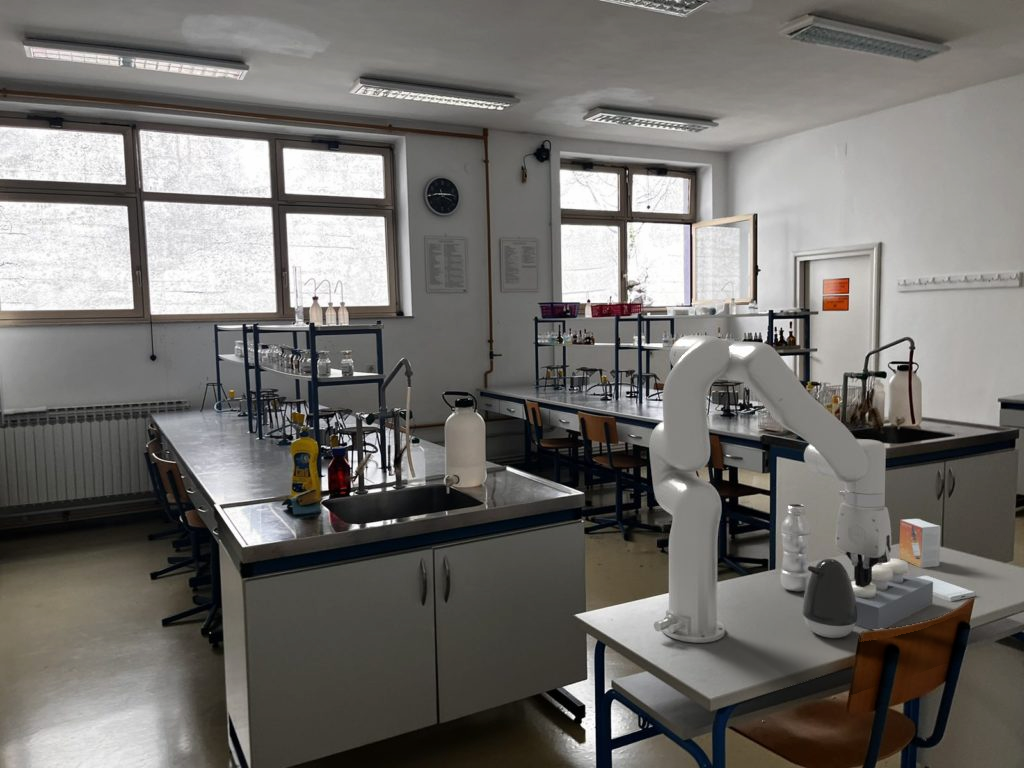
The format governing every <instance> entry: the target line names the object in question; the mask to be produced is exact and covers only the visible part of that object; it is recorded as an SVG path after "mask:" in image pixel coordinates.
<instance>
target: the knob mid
mask: <svg viewBox="0 0 1024 768" xmlns="http://www.w3.org/2000/svg"><path fill="white" fill-rule="evenodd" d="M892 577H893V570H892V569H891V568H890V567H887V566H883V565H882V564H876V565H875V566H873V567H872V581H871V583H872V584H874V585H875V586H876V590H880V591H883V592H884V591H886V590H887V589H888V580H892Z"/></svg>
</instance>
